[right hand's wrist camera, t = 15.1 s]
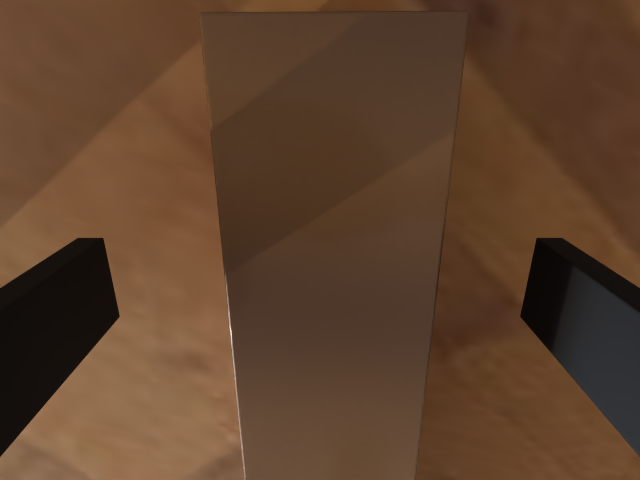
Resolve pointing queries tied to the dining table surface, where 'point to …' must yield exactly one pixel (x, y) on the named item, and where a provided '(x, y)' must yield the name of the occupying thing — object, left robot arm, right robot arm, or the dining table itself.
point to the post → (332, 227)
